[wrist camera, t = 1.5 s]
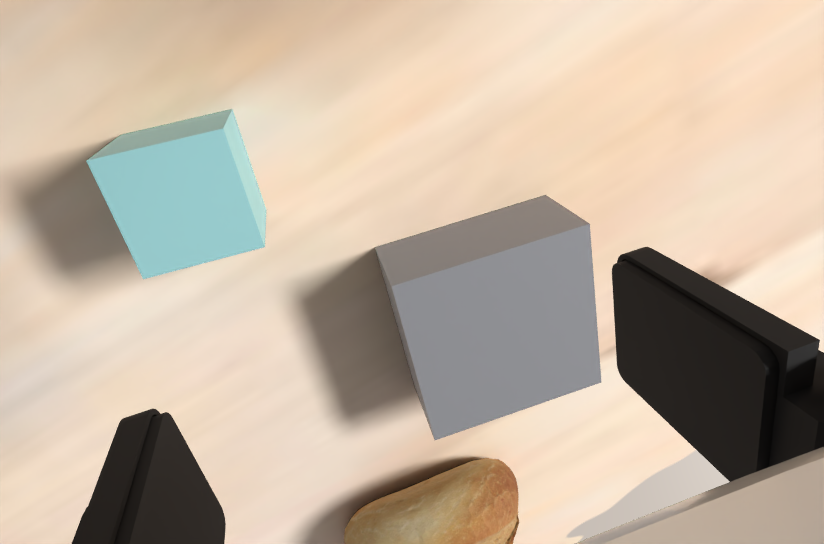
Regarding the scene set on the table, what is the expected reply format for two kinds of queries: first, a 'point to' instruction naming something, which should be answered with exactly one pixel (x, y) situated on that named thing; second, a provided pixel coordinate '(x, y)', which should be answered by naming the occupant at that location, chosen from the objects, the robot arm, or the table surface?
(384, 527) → the bread roll
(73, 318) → the table surface
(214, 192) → the teal cube
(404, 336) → the gray block
